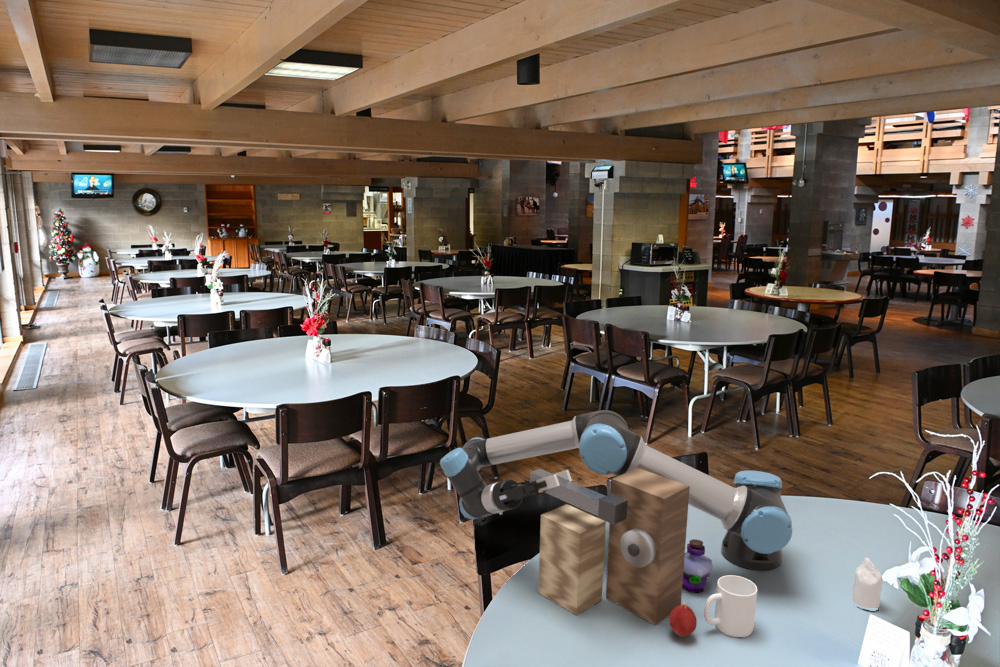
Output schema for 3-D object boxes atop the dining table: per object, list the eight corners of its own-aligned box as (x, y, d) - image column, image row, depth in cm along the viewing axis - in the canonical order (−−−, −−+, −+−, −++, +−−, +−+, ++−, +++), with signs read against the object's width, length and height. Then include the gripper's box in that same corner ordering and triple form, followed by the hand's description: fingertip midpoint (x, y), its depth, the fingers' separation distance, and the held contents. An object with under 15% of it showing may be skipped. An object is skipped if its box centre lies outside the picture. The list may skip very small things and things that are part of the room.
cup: (761, 634, 148) (765, 592, 146) (714, 644, 144) (717, 601, 142) (737, 613, 156) (741, 572, 154) (692, 621, 152) (695, 580, 150)
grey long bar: (528, 486, 164) (529, 468, 163) (541, 481, 167) (541, 464, 166) (614, 524, 145) (615, 505, 144) (626, 518, 148) (627, 500, 147)
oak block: (601, 600, 160) (605, 521, 156) (576, 615, 154) (579, 533, 150) (563, 579, 168) (566, 503, 165) (538, 592, 162) (540, 514, 159)
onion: (664, 628, 150) (666, 595, 148) (689, 627, 150) (692, 594, 149) (672, 645, 144) (675, 611, 142) (699, 644, 144) (702, 610, 143)
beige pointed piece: (891, 562, 156) (873, 566, 154) (884, 609, 158) (867, 614, 156) (868, 550, 161) (851, 554, 159) (862, 595, 163) (845, 600, 161)
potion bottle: (683, 598, 161) (687, 551, 159) (669, 578, 170) (672, 534, 167) (717, 595, 163) (721, 549, 160) (701, 576, 171) (705, 531, 169)
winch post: (680, 607, 157) (689, 486, 152) (646, 631, 148) (655, 502, 143) (631, 582, 167) (638, 467, 162) (597, 603, 159) (602, 482, 153)
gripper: (530, 501, 180) (591, 484, 163) (482, 520, 169) (543, 503, 152) (521, 474, 181) (580, 454, 164) (473, 490, 170) (532, 471, 153)
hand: (562, 477), depth 158 cm, fingers closed on grey long bar, 3 cm apart
